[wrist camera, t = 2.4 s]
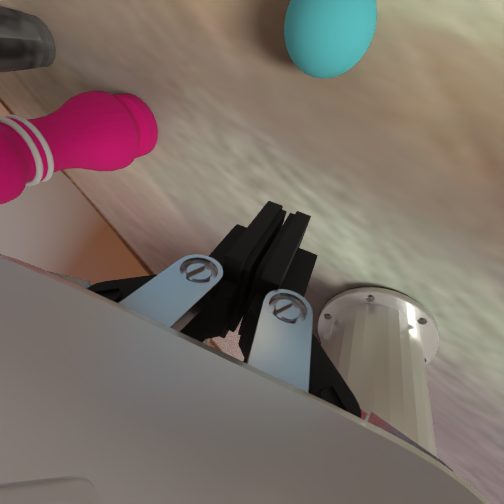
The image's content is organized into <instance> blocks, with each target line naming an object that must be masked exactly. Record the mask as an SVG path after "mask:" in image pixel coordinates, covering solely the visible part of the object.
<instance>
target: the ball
mask: <svg viewBox="0 0 504 504" xmlns="http://www.w3.org/2000/svg"><path fill="white" fill-rule="evenodd" d="M376 20H377V7H376V1H375V0H291V1H290V4H289V6H288V9H287V13H286V17H285V24H284V38H285V44H286V48H287V51H288V53H289V55H290V57H291V59H292V61H293V62H294V64H295V65H296V66H297V67H298V68H299V69H300V70H301V71H302V72H304V73H305V74H307V75H310V76H312V77H316V78H332V77H335V76H338V75H341V74H343V73H345V72H346V71H348V70H349V69H351V68H352V67H353V66H354V65H355V64H356V63H357V62H358V61H359V60H360V59H361V58H362V56H363V55H364V54H365V52H366V50H367V49H368V47H369V45H370V43H371V40H372V38H373V35H374V31H375V27H376Z"/></svg>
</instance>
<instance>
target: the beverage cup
mask: <svg viewBox="0 0 504 504" xmlns="http://www.w3.org/2000/svg"><path fill="white" fill-rule="evenodd" d="M54 58H55V46H54V41H53V38H52V36H51V33H50V31H49V30H48V28H47V26H46V25H45V24H44V23H43V22H42V20H40V19H39V18H37V17H36V16H32V15H28V14H25V13H22V12H20V11H16V10H13V9H9V8H5V7H1V6H0V72H7V71H16V70H25V69H34V68H38V67H46V66H50V65H51V64H52V63H53V61H54Z"/></svg>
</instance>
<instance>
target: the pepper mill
mask: <svg viewBox="0 0 504 504" xmlns="http://www.w3.org/2000/svg"><path fill="white" fill-rule="evenodd" d="M157 133H158V131H157V124H156V121H155V118H154V116H153V114H152V112H151V110H150V109H149V108H148V106H147V105H146V104H145V103H144V102H143V101H142V100H141V99H139V98H138V97H136V96H134V95H131V94H118V95H110V94H108V93H106V92H102V91H90V92H84V93H81V94H78V95H76V96H74V97H72V98H70V99H69V100H68V101H67V102H66V103H65V104H63V105H62V106H61V107H60V108H59V109H58V110H56V111H55V112H53V113H51V114H49V115H47V116H44V117H40V118H36V119H28V120H26V119H25V118H23V117H20V116H17V115H8V116H5V117H1V116H0V204H3V203H7V202H9V201H11V200H13V199H15V198H17V197H18V196H19V195H20V194H21V193H22V191H23V190H24V188H25V186H34V185H36V184H38V183H41V182H46V181H47V180H49V179H50V178H51V177H52V174H53V173H54V172H56V171H59V170H64V169H69V168H82V169H89V170H96V171H114V170H118V169H121V168H125V167H126V166H128V165H130V164H131V163H132V162H133V161H134V159H135V158H137V157H140V156H143V155H146V154H148V153H149V152H151V151H152V150H153V148H154V147H155V144H156V141H157Z"/></svg>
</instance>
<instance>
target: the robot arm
mask: <svg viewBox="0 0 504 504" xmlns="http://www.w3.org/2000/svg"><path fill="white" fill-rule="evenodd" d="M285 215H286V211H284V210H282V205H279V204H276V203H274V202H271V201H268V202H267V204H266V205H265V206H264V207H263V209H262V210H261V211H260V212H259V214H258V215H257V216H256V217H255V219H254V220H253V221H252V222H251V224H250V225H249V226H248V227H247V228H246V227H244V226H241V225H238V224H237V225H236V226H235V227H234V228H233V229H232V230H231V231H230V232H229V234H228V235H227V236H226V237H225V238H224V239H223V240H222V242H221V243H220V244H219V245H218V246H217V247H216V248H215V250H214V251H213V252H212V253H211V254H210V255H209V256H206V255H200V254H193V255H188V256H185V257H183V258H181V259H179V260H178V261H177V262H175V263H174V264H172V265H171V266H170V267H168V268H167V269H165V270H164V271H163V272H161V273H160V274H157V275H150V276H142V277H135V278H127V279H119V280H112V281H105V282H100V283H96V284H94V285H90V281H87V280H82V279H78V278H74V277H70V276H66V275H61V274H57V273H53V272H48V271H45V270H43V269H40V268H38V267H35V266H33V265H30V264H28V263H25V262H22V261H20V260H17V259H14V258H11V257H8V256H5V255H1V254H0V504H491V503H490V502H489V501H488V500H487V499H486V498H484V497H483V496H482V495H481V494H480V493H479V492H478V491H476V490H475V489H474V488H473V487H472V486H471V485H470V484H468V483H467V482H466V481H465V480H463V479H462V478H461V477H459V476H458V475H457V474H455V473H454V472H453V470H452V469H450V468H449V467H448V466H447V465H446V464H445V463H444V462H443V461H441V460H440V459H438V458H437V451H436V443H435V435H434V428H433V420H432V413H431V405H430V397H429V390H428V382H427V375H426V367H425V366H426V365H427V364H428V363H429V362H430V361H431V360H432V359H433V357H434V356H435V354H436V352H437V349H438V344H439V337H438V331H437V327H436V325H435V322H434V320H433V318H432V317H431V315H430V314H429V313H428V311H427V310H426V309H425V308H424V307H423V306H421V305H420V304H419V303H418V302H416V301H415V300H413V299H412V298H410V297H408V296H406V295H403V294H401V293H399V292H396V291H392V290H388V289H384V288H375V287H363V288H356V289H350V290H347V291H345V292H342V293H340V294H338V295H336V296H335V297H333V298H332V299H330V300H329V301H328V302H327V303H326V304H325V306H324V307H323V309H322V311H321V314H320V317H319V321H318V334H319V337H320V340H321V342H322V343H321V345H320V343H319V342H318V340H317V339H316V337H315V336H314V334H313V333H312V322H313V312H312V308H311V306H310V304H309V302H308V301H307V300H306V299H305V298H304V295H305V292H306V289H307V286H308V283H309V280H310V277H311V274H312V271H313V268H314V265H315V262H316V259H317V255H316V254H313V253H311V252H308V251H305V250H303V249H300V248H299V246H300V244H301V241H302V239H303V236H304V233H305V231H306V228H307V225H308V223H309V220H310V217H311V216H309V215H306V214H304V213H301V212H298V211H297V212H296V214H292V213H290V214H289V216H288V218H287V219H286V221H285V223H284V224H283V222H284V218H285ZM282 225H283V226H282ZM242 317H243V319H242ZM241 319H242V322H241V326H240V329H239V333H238V334H239V335H241V337H240V340H239V343H238V344H239V347H240V349H241V351H242V353H243V356H244V361H243V362H242V361H240V360H238V359H236V358H234V357H232V356H230V355H228V354H225V353H223V352H221V351H219V350H217V349H215V348H213V347H211V346H208V343H209V341H210V338H213V337H218V336H220V337H222V338H225V336H226V335H227V333H228V331H229V330H230V331H232V332H234V331H235V330H236V328H237V326H238V324H239V322H240V321H241Z"/></svg>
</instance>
